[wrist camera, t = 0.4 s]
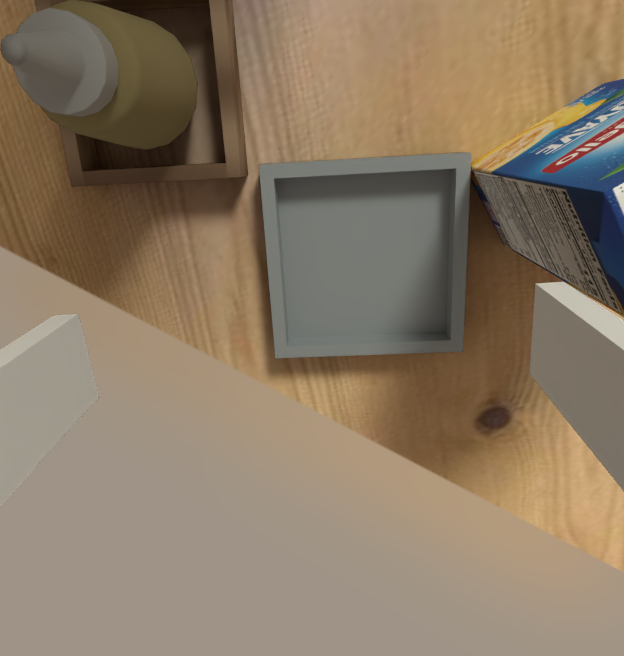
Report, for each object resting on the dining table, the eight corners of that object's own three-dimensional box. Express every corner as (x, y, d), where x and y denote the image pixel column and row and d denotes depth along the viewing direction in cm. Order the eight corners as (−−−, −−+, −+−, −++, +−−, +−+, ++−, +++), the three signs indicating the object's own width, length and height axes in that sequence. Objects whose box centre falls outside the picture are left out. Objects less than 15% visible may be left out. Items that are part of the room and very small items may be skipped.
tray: (263, 163, 40) (258, 164, 38) (463, 152, 39) (471, 152, 37) (278, 346, 45) (275, 358, 43) (456, 340, 44) (463, 351, 42)
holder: (55, 0, 37) (32, -12, 34) (230, -14, 36) (221, -27, 33) (89, 183, 41) (71, 186, 38) (248, 174, 40) (241, 177, 37)
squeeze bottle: (166, 172, 40) (43, 192, 24) (80, 95, 39) (-118, 57, 22) (232, 87, 38) (150, 42, 21) (144, 2, 37) (-21, -120, 20)
